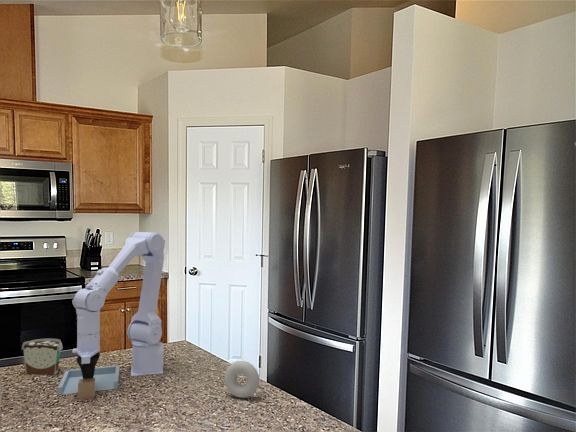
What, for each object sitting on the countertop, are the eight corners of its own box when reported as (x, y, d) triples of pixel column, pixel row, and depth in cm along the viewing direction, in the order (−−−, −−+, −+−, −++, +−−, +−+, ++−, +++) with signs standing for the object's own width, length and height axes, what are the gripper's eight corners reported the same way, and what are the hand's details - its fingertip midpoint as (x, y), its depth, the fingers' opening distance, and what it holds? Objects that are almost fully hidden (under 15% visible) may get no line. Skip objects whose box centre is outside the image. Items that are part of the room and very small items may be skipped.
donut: (261, 397, 125) (261, 360, 125) (256, 402, 122) (257, 364, 121) (227, 392, 128) (227, 357, 127) (222, 397, 124) (222, 361, 124)
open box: (119, 373, 142) (119, 365, 142) (117, 390, 129) (117, 381, 129) (65, 378, 137) (65, 370, 137) (58, 396, 124) (58, 387, 124)
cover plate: (110, 395, 127) (110, 376, 127) (108, 410, 117) (108, 389, 117) (63, 400, 123) (63, 380, 123) (56, 416, 113) (56, 395, 113)
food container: (71, 370, 144) (71, 338, 144) (59, 377, 138) (59, 344, 138) (34, 368, 145) (34, 337, 145) (21, 375, 139) (21, 342, 139)
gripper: (76, 327, 131) (75, 373, 131) (68, 340, 118) (68, 393, 118) (102, 325, 133) (102, 371, 134) (98, 338, 120) (98, 390, 120)
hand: (88, 381), depth 126 cm, fingers closed
